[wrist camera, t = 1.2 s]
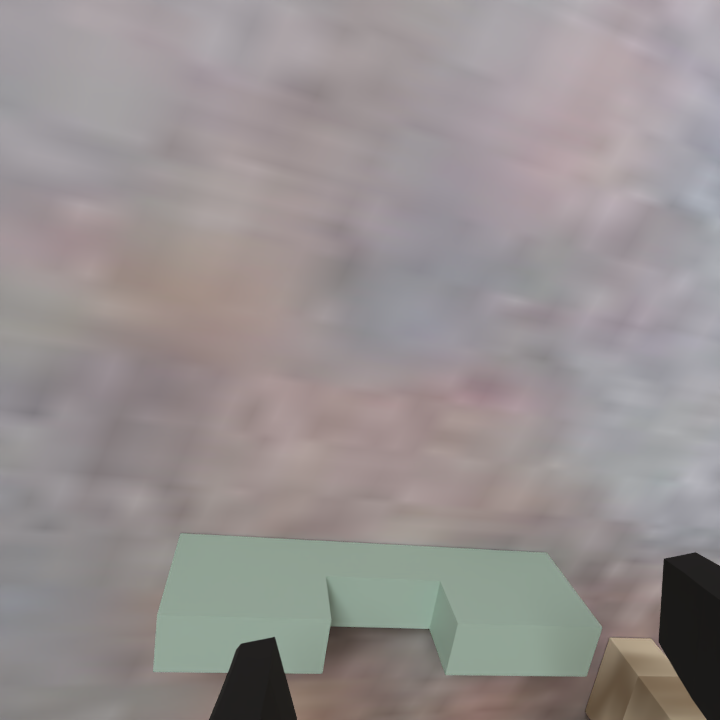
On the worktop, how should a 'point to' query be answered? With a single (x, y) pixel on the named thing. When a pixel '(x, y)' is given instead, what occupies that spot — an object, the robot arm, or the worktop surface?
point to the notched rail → (370, 604)
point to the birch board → (639, 685)
